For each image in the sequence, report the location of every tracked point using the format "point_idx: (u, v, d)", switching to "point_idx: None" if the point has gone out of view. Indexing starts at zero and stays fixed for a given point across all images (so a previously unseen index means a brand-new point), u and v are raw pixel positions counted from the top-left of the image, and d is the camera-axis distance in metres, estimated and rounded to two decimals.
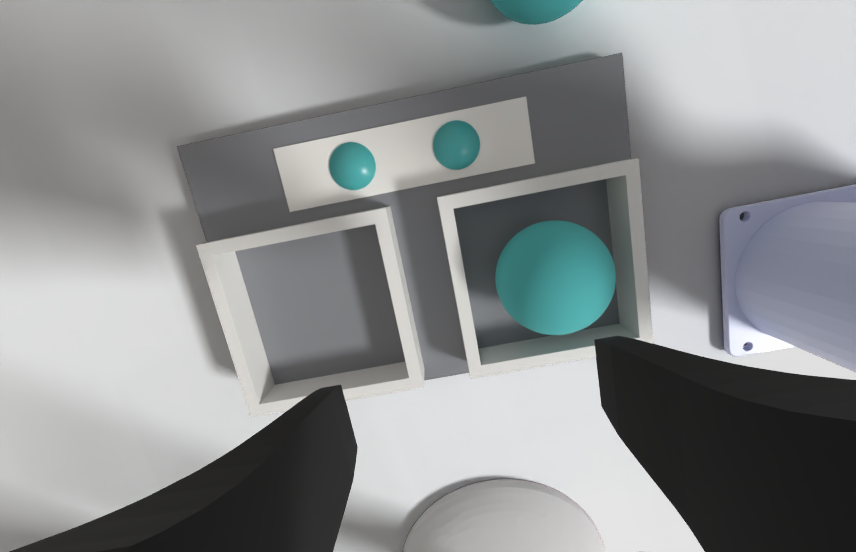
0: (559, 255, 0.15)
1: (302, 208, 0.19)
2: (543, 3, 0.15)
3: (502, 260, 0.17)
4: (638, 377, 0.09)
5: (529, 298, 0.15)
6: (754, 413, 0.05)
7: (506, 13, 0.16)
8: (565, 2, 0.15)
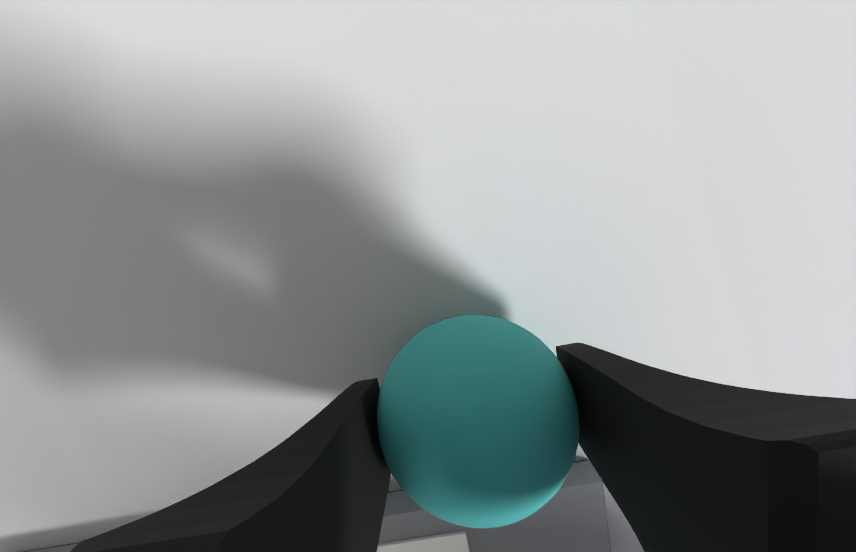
0: None
1: None
2: None
3: None
4: (590, 385, 0.09)
5: None
6: (677, 426, 0.05)
7: None
8: None
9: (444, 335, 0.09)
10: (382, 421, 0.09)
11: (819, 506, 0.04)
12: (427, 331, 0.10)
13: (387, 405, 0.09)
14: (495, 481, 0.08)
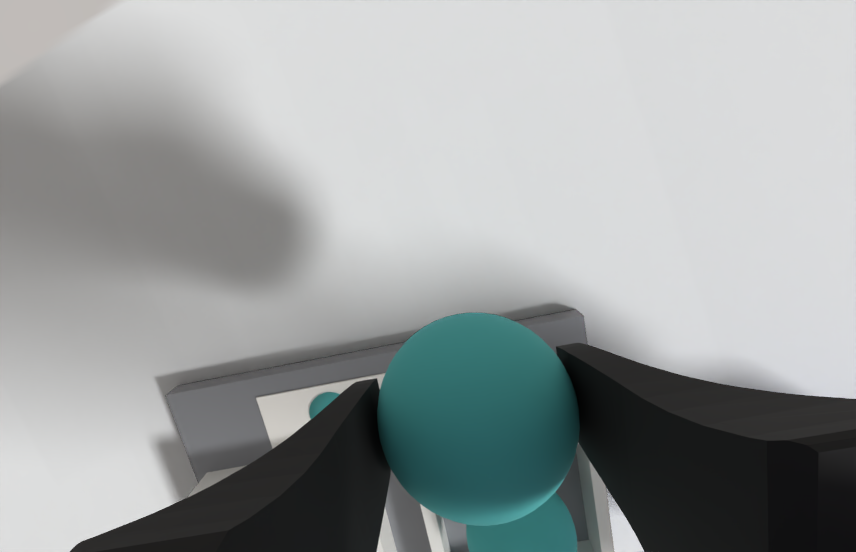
0: (521, 549, 0.16)
1: None
2: None
3: None
4: (590, 385, 0.09)
5: None
6: (677, 426, 0.05)
7: None
8: None
9: (445, 333, 0.09)
10: (382, 418, 0.09)
11: (819, 506, 0.04)
12: (428, 328, 0.10)
13: (387, 402, 0.09)
14: (495, 479, 0.08)
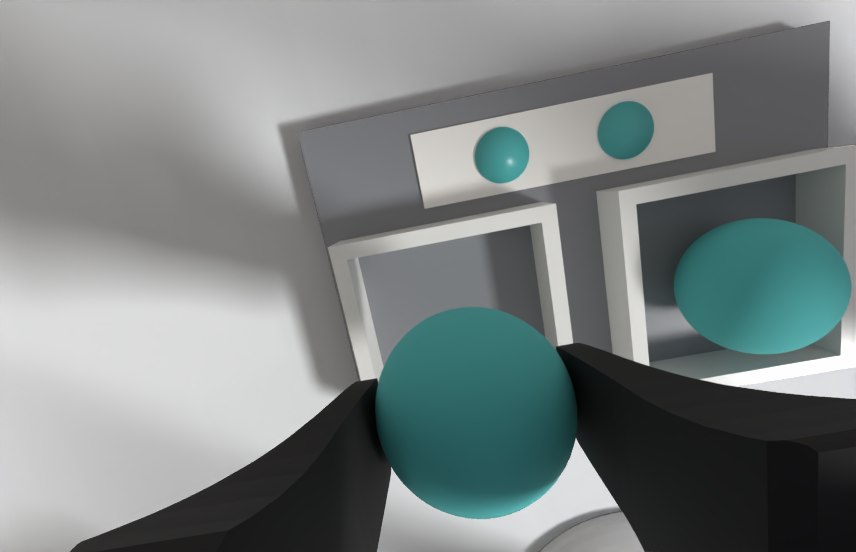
0: (797, 261, 0.12)
1: (439, 205, 0.16)
2: None
3: (699, 265, 0.14)
4: (590, 385, 0.09)
5: (752, 312, 0.13)
6: (677, 426, 0.05)
7: None
8: None
9: (447, 325, 0.09)
10: (380, 406, 0.09)
11: (819, 506, 0.04)
12: (430, 320, 0.10)
13: (386, 391, 0.09)
14: (491, 472, 0.08)
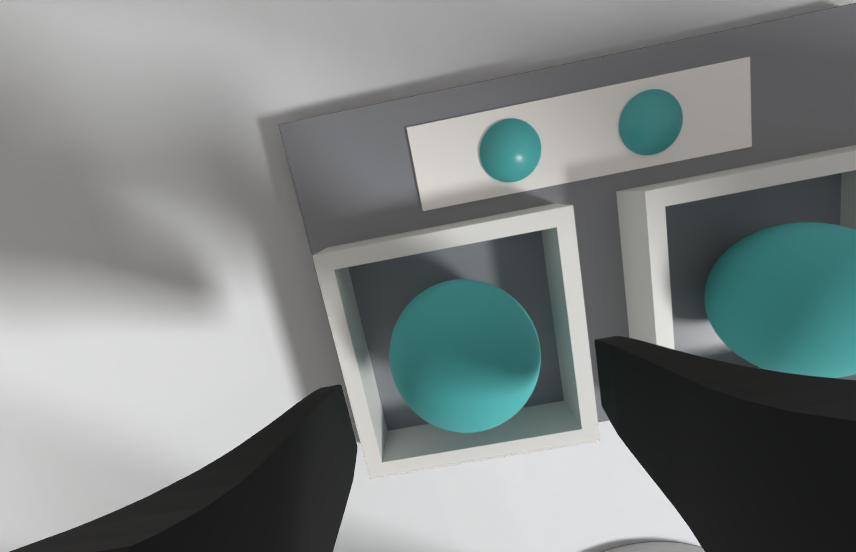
0: None
1: (439, 207, 0.15)
2: None
3: (738, 276, 0.12)
4: (638, 377, 0.09)
5: (805, 333, 0.11)
6: (754, 413, 0.05)
7: None
8: None
9: (443, 290, 0.12)
10: (394, 350, 0.12)
11: None
12: (431, 288, 0.13)
13: (398, 338, 0.12)
14: (474, 389, 0.11)
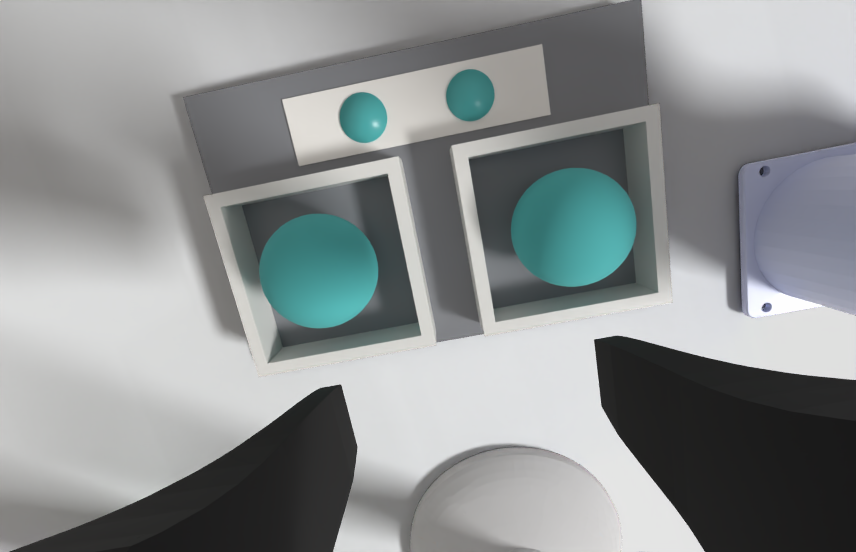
0: (580, 198, 0.15)
1: (311, 162, 0.19)
2: None
3: (518, 209, 0.16)
4: (638, 377, 0.09)
5: (548, 244, 0.15)
6: (754, 413, 0.05)
7: None
8: (333, 325, 0.17)
9: (297, 218, 0.16)
10: None
11: None
12: None
13: (262, 254, 0.16)
14: (305, 283, 0.15)
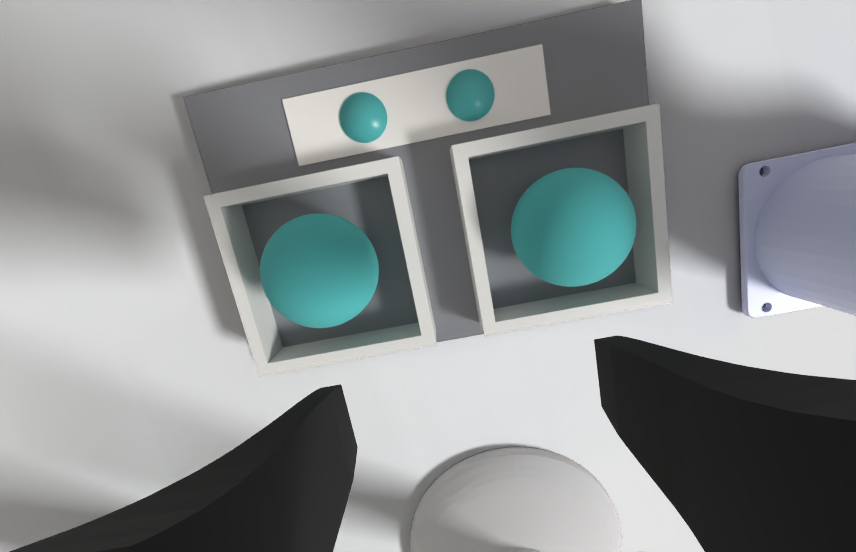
0: (580, 198, 0.15)
1: (311, 162, 0.19)
2: (314, 327, 0.17)
3: (518, 208, 0.16)
4: (638, 377, 0.09)
5: (548, 244, 0.15)
6: (754, 413, 0.05)
7: None
8: (334, 325, 0.17)
9: (298, 218, 0.16)
10: (260, 263, 0.16)
11: None
12: (293, 219, 0.17)
13: (263, 254, 0.16)
14: (307, 283, 0.15)
